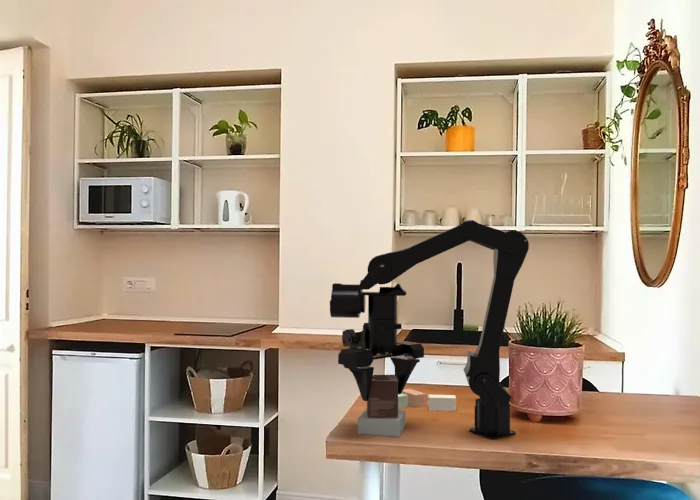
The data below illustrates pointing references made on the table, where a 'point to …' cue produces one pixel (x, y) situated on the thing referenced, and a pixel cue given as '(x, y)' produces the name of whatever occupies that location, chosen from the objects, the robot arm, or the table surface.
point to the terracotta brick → (415, 398)
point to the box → (383, 397)
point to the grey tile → (381, 425)
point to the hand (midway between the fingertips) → (382, 397)
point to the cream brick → (442, 402)
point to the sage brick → (402, 401)
